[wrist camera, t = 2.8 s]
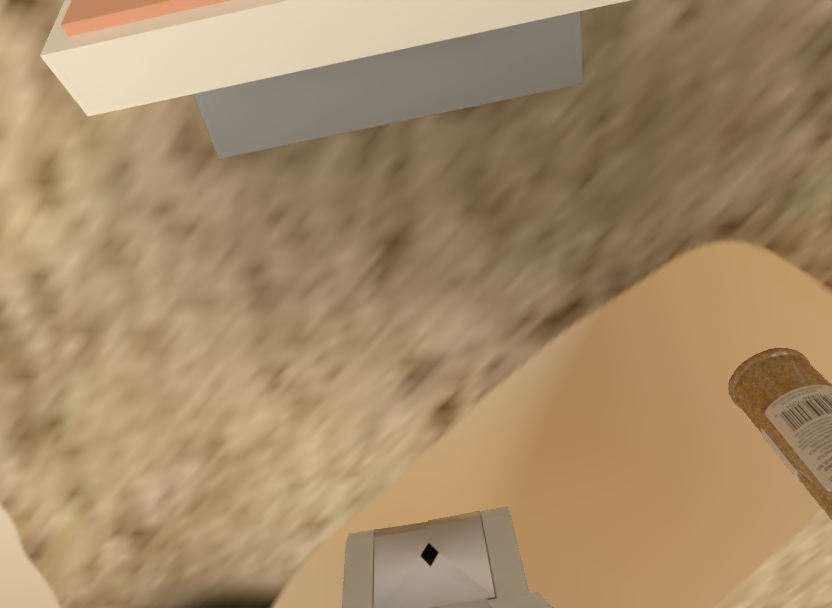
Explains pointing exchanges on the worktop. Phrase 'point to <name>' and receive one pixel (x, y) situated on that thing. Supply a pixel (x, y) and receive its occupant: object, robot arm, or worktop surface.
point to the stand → (395, 86)
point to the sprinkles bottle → (790, 414)
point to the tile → (249, 39)
